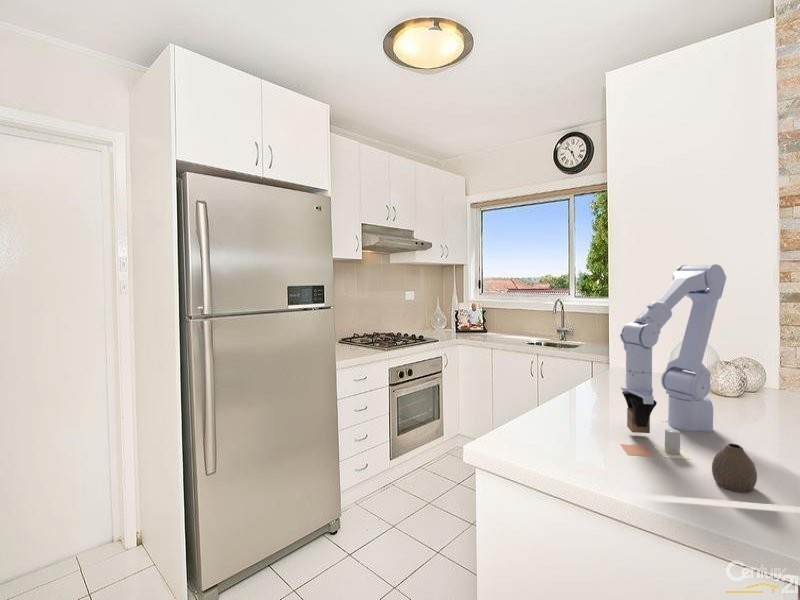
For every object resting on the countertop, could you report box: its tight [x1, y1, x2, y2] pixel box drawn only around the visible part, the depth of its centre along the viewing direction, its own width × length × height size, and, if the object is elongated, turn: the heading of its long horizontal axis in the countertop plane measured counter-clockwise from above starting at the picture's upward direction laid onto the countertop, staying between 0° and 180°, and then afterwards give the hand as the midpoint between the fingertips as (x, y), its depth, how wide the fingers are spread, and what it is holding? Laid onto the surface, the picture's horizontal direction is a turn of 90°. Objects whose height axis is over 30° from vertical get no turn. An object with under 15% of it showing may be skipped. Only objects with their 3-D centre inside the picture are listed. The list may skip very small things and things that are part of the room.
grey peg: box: [664, 428, 682, 455], centre depth 96 cm, size 3×3×5 cm
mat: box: [619, 443, 692, 460], centre depth 98 cm, size 13×8×1 cm, turn 77°
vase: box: [711, 443, 758, 494], centre depth 82 cm, size 7×7×9 cm
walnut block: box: [626, 407, 651, 434], centre depth 106 cm, size 4×4×5 cm
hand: (638, 423), depth 106 cm, fingers closed on walnut block, 4 cm apart
